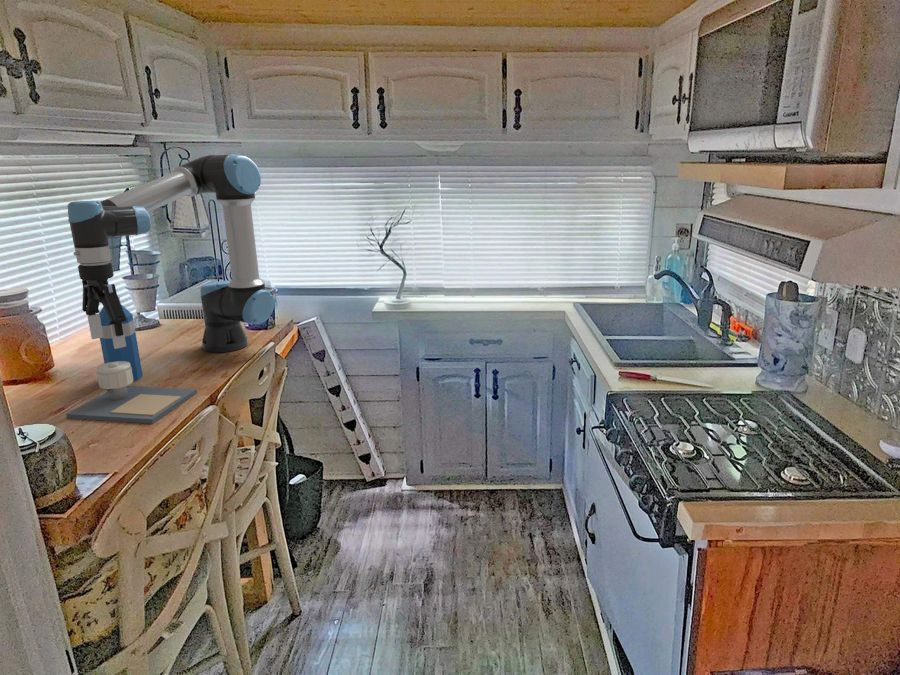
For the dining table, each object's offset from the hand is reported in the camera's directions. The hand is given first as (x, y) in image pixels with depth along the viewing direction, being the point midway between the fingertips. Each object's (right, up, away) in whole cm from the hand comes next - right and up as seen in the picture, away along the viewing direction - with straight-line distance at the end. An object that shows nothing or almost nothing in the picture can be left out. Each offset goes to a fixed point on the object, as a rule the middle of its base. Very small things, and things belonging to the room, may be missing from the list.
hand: (108, 342), depth 154 cm
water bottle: (-8, -11, +22) cm, 26 cm away
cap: (0, -11, +4) cm, 12 cm away
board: (+6, -17, +2) cm, 18 cm away
